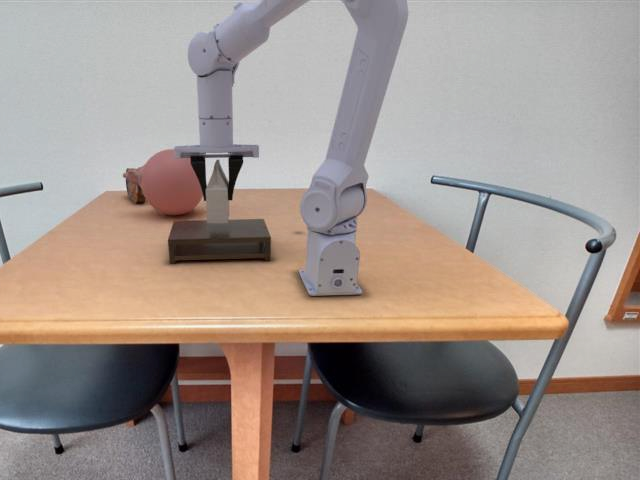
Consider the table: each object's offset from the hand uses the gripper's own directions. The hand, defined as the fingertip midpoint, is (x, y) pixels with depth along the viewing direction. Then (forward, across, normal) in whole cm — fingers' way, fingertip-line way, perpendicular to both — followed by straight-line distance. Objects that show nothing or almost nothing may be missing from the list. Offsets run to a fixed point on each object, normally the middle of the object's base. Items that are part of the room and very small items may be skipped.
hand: (218, 199), depth 78 cm
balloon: (+10, +13, -29) cm, 33 cm away
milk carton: (+4, 0, 0) cm, 4 cm away
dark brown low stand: (+10, 0, 0) cm, 10 cm away
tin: (+10, +23, -46) cm, 52 cm away
